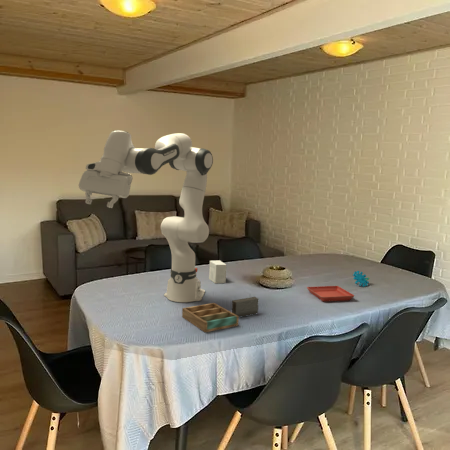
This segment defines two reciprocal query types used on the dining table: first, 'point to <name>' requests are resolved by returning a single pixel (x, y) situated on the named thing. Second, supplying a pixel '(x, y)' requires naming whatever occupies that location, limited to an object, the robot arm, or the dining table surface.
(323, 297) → the plant saucer
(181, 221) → the robot arm
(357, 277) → the gear
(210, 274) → the skincare box
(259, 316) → the dining table surface
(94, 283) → the dining table surface
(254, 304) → the panel
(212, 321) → the rack
